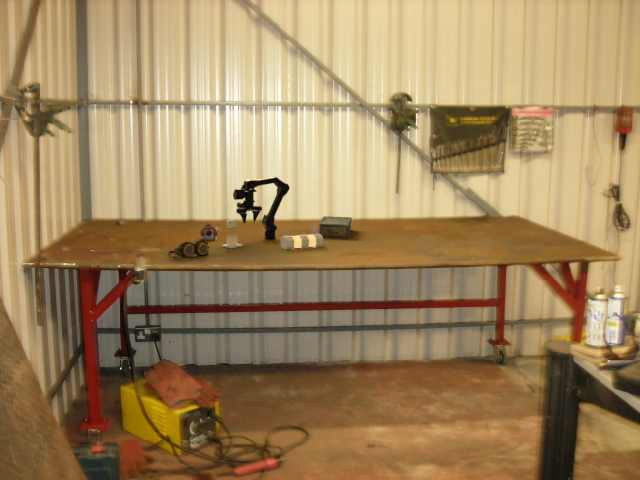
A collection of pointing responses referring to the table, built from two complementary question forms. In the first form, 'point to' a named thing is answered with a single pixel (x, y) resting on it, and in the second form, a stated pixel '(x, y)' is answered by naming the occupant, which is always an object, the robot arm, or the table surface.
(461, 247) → the table surface
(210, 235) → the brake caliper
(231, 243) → the cream stepped block
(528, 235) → the table surface
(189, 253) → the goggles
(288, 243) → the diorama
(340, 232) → the metal box
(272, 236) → the robot arm
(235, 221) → the pale green block
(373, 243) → the table surface
